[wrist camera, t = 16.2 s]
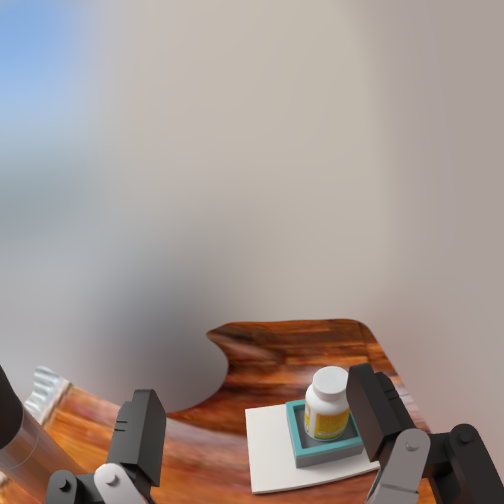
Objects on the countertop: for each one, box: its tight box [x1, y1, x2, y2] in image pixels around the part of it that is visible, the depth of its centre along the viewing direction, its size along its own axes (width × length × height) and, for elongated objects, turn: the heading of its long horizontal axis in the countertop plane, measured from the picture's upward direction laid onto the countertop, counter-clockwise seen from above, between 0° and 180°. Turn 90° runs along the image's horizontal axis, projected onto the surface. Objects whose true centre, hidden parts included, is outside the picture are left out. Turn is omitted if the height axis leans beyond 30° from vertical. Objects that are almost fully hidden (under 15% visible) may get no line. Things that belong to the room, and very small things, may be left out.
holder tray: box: [245, 399, 380, 494], centre depth 33 cm, size 20×14×5 cm
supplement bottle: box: [304, 366, 350, 441], centre depth 31 cm, size 5×5×10 cm
